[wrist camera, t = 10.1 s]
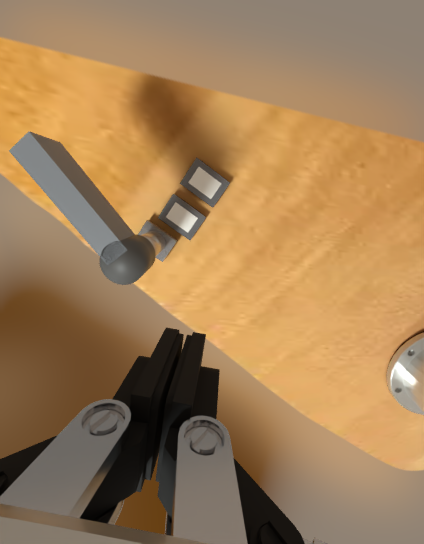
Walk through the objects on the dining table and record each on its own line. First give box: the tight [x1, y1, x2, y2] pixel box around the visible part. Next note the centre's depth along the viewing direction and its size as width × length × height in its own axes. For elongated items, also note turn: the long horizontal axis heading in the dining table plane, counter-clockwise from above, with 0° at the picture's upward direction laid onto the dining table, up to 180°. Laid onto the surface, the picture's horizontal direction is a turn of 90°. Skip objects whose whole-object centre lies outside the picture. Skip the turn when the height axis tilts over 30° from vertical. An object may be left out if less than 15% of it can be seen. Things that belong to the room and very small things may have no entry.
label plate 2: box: [158, 194, 206, 240], centre depth 30 cm, size 4×3×1 cm
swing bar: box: [9, 132, 156, 285], centre depth 21 cm, size 3×12×4 cm, turn 36°
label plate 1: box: [180, 158, 230, 207], centre depth 29 cm, size 4×3×1 cm
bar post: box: [138, 220, 178, 262], centre depth 27 cm, size 4×3×7 cm
